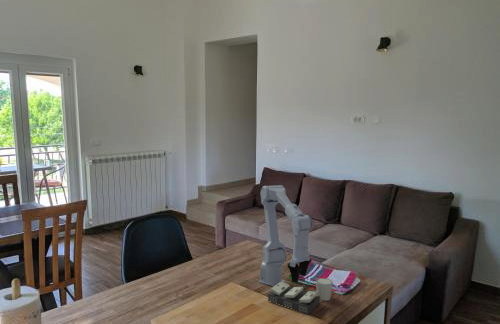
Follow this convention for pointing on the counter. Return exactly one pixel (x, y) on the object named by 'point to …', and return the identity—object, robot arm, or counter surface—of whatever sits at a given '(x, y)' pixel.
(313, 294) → the cabinet drawer
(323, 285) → the shot glass
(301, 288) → the filing cabinet drawer
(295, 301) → the filing cabinet
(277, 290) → the pale rectangular block
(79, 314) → the counter surface
